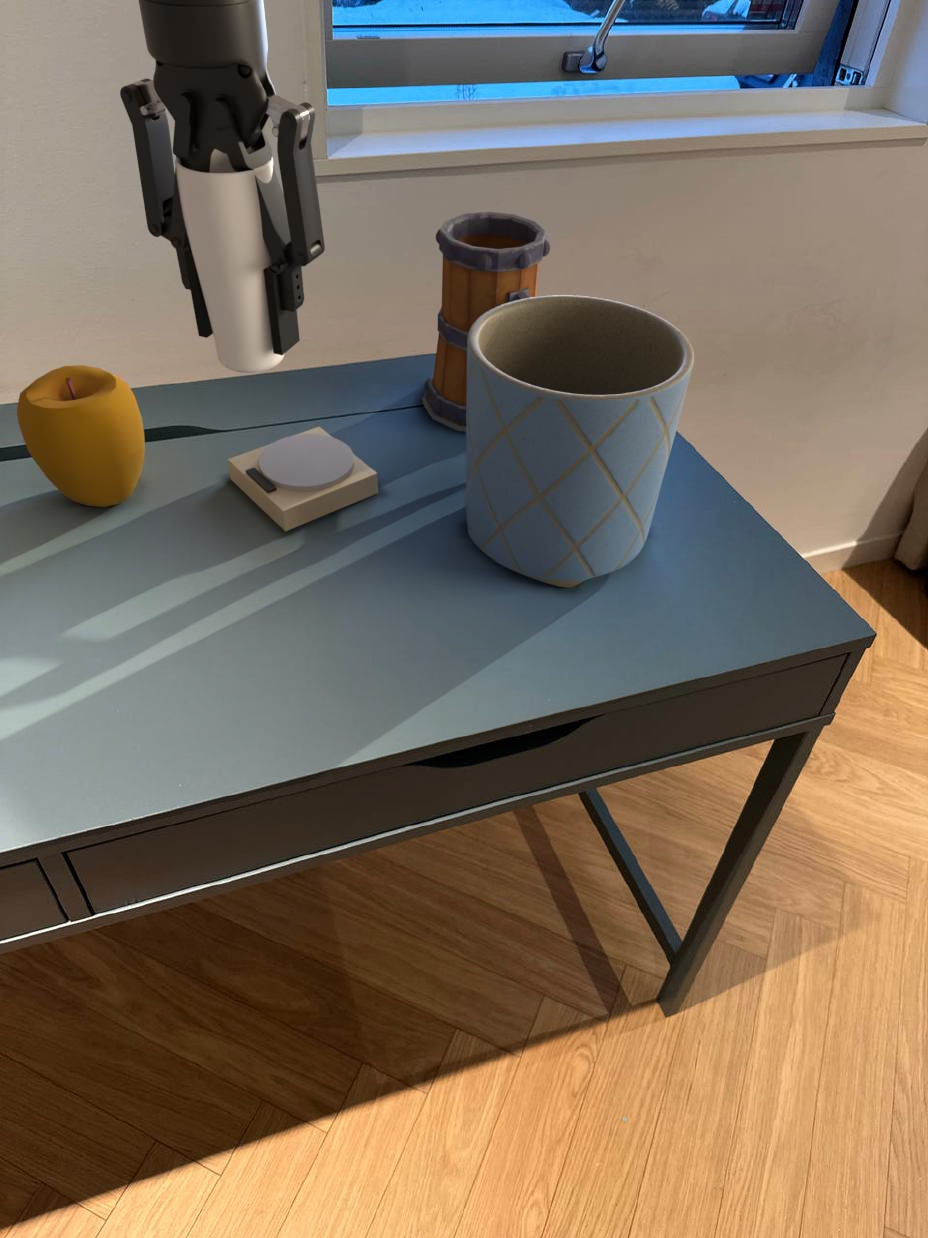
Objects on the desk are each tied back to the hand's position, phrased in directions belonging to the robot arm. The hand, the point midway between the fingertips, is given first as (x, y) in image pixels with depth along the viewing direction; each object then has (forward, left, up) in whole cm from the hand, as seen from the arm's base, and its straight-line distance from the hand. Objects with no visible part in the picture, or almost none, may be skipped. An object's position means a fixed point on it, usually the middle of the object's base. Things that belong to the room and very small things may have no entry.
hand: (249, 337), depth 71 cm
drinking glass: (0, 0, -2) cm, 2 cm away
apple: (-9, +19, -22) cm, 30 cm away
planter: (+24, -13, -22) cm, 35 cm away
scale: (+8, +8, -21) cm, 24 cm away
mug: (+34, +8, -22) cm, 41 cm away
